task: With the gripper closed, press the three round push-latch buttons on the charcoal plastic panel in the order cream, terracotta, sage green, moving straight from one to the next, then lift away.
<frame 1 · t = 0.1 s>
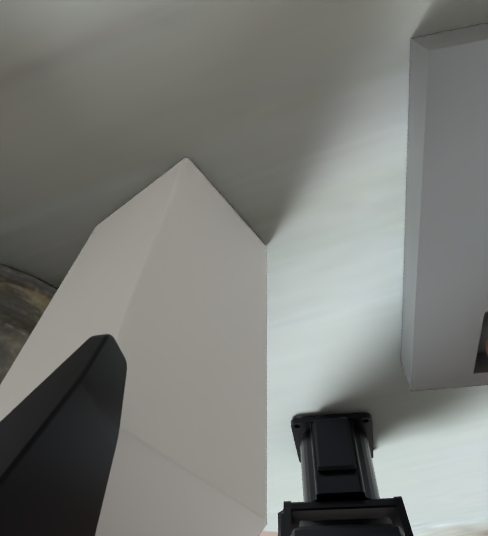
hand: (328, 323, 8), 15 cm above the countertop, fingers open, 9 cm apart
milk carton: (183, 233, 25), on the countertop
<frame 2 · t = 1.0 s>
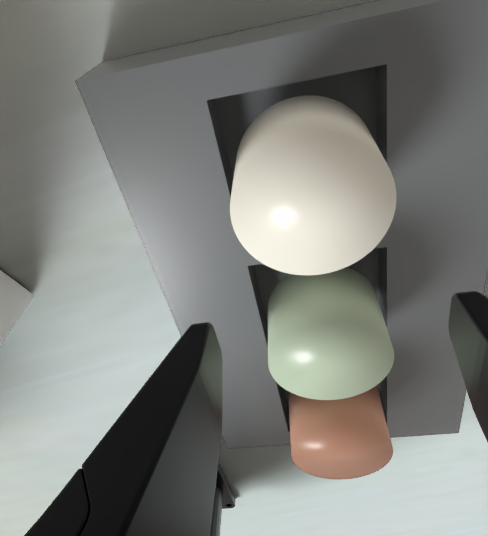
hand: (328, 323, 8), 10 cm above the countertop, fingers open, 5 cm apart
panel: (316, 270, 20), on the countertop
terracotta button: (337, 425, 21), point 4 cm above the countertop, slide at 0.0 cm
sage button: (325, 332, 17), point 4 cm above the countertop, slide at 0.0 cm
cream button: (307, 186, 13), point 4 cm above the countertop, slide at 0.0 cm
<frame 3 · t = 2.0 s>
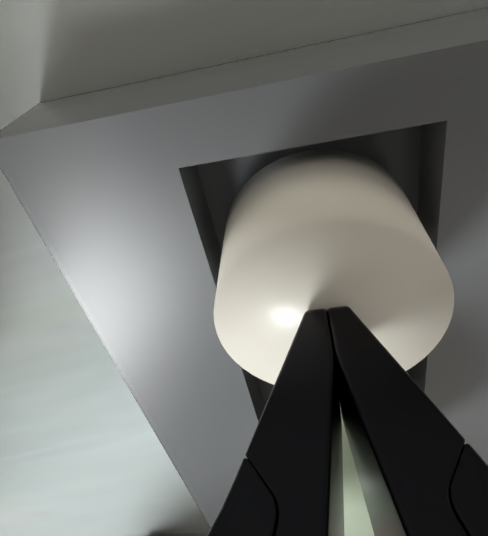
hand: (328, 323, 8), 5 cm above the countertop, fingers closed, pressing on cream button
panel: (328, 351, 16), on the countertop
sage button: (344, 455, 13), point 4 cm above the countertop, slide at 0.0 cm
cream button: (322, 273, 10), point 3 cm above the countertop, slide at -0.7 cm, touching gripper
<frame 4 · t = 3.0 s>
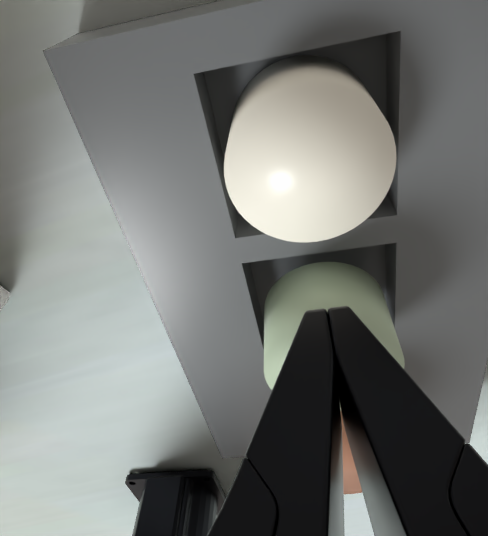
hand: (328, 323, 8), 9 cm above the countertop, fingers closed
panel: (317, 268, 19), on the countertop
terracotta button: (339, 436, 19), point 4 cm above the countertop, slide at 0.0 cm
sage button: (327, 337, 15), point 4 cm above the countertop, slide at 0.0 cm
cream button: (304, 150, 13), point 3 cm above the countertop, slide at -1.5 cm
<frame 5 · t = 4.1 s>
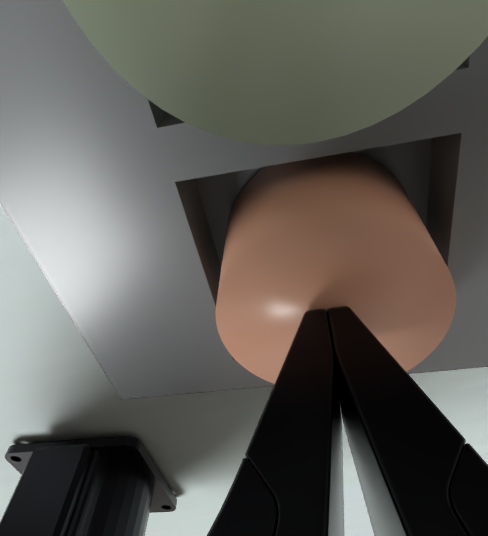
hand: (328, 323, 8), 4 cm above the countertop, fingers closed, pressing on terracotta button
terracotta button: (324, 273, 10), point 3 cm above the countertop, slide at -1.4 cm, touching gripper
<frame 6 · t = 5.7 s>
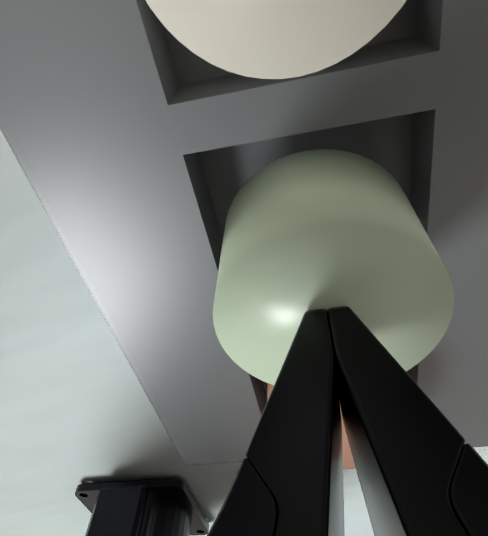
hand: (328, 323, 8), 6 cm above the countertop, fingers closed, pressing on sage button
panel: (308, 189, 13), on the countertop
terracotta button: (334, 392, 15), point 3 cm above the countertop, slide at -1.6 cm
sage button: (321, 273, 10), point 4 cm above the countertop, slide at 0.0 cm, touching gripper
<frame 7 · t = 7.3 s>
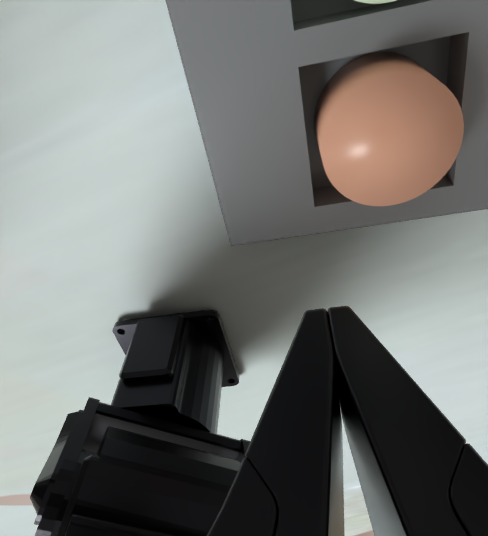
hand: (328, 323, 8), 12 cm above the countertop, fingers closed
terracotta button: (381, 130, 15), point 3 cm above the countertop, slide at -1.6 cm
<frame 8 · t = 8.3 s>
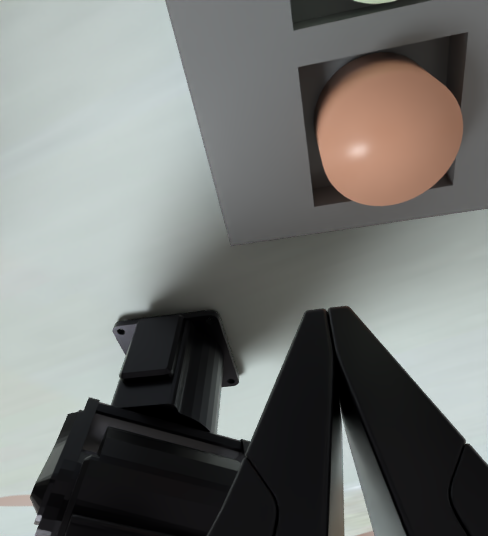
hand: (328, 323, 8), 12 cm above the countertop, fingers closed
terracotta button: (380, 130, 15), point 3 cm above the countertop, slide at -1.6 cm
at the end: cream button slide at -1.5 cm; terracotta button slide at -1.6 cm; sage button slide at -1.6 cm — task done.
